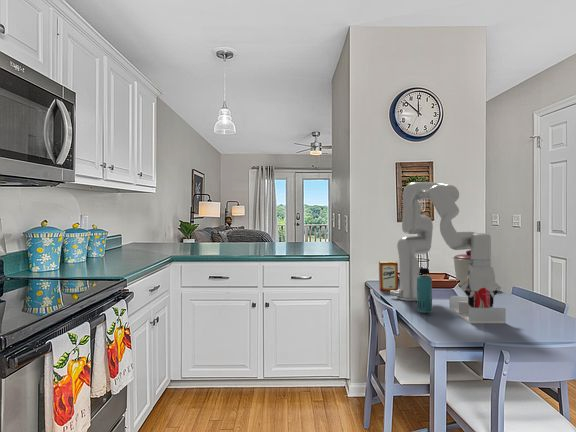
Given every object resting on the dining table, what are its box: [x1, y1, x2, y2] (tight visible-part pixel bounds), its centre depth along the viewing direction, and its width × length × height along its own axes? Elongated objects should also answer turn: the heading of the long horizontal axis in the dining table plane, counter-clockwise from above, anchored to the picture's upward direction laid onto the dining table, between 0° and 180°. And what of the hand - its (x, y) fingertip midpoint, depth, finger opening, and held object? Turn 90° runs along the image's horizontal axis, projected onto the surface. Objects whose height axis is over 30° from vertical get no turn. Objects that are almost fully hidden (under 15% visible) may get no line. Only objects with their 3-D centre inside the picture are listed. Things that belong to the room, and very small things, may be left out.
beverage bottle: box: [416, 267, 433, 313], centre depth 180 cm, size 6×7×20 cm
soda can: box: [471, 286, 490, 308], centre depth 171 cm, size 7×7×12 cm
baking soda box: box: [378, 260, 399, 292], centre depth 234 cm, size 10×6×16 cm
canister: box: [452, 249, 471, 287], centre depth 240 cm, size 18×18×21 cm
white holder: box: [448, 295, 507, 324], centre depth 176 cm, size 14×23×6 cm, turn 178°
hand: (480, 305), depth 171 cm, fingers closed on soda can, 6 cm apart
